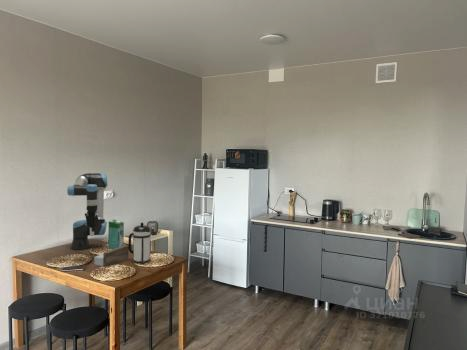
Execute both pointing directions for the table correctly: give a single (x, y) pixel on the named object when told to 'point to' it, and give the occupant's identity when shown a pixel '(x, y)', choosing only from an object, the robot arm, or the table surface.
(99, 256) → the block
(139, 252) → the coffee press
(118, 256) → the board
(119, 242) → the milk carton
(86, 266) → the table surface
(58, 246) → the table surface
